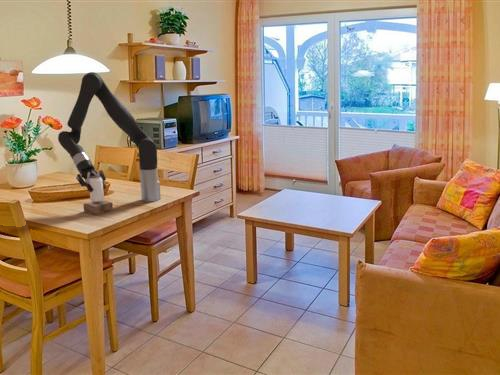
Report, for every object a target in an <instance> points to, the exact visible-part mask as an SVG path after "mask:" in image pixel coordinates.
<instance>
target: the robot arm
mask: <svg viewBox="0 0 500 375" xmlns="http://www.w3.org/2000/svg"><path fill="white" fill-rule="evenodd" d="M94 96H95V97H96V98H97V99H98V101H99V102H100V103H101V104H102V106H103V108H104V110H105V112H106V113H107V115H108V116H109V117H110V119H112V121H113V123H114V124H115V125H117V127H118V128H120V130H121V131H123V133H125V134H126V135H127V136H128V137H130V139H131V140H132V141H133V143H134V144H135V146H136V147H137V149H138V158H139V178H140V180H139V181H140V192H141V194H140V195H141V201H142V202H147V203H149V202H156V201H159V200H161V183H160V181H159V176H158V174H159V173H158V148H157V144H156V142H155V141H154V140H153V139H152V138H151V137H150V136H149V135H147V133H146V132H145V131H144V130H143V129H142V128H141V127H140V125H139V124H138V122H137V121H136V119H135V118H134V116H133V115H132V113H131V112H130V111H129V110H128V109H127V108H126V106H125V105H124V104H123V103H122V102H121V100H120V99H118V97H117V96H116V95H115V94H113V92H112V91H111V90H110V88H109V86H107V84H106V82H105V80H103V78H102V77H101V75H100V74H99V73H97V72H94V71H93V72H92V71H91V72H87V73H86V74H85V75H83V77H82V79H81V84H80V89H79V93H78V96H77V98H76V102H75V104H74V106H73V108H72V110H71V112H70V116H69V118H68V121H67V122H66V123H67V127H69V128H70V129H71V130H70V131H67V130H66V131H65V130H63V131H60V132H59V134H58V135H57V136H58V137H57V140H58V143H59V144H60V146H61V147H62V148H63V149H64V150H65V151H66V152H67V153H68V154H69V155H70V158H71V160H72V161H73V164H74V166H75V168H76V169H77V171H78V174H77V175H76V177H75V179H76V180H77V181H78V183H79V185H81V187H85V188H86V189H87V191H88V192H89V193H90V192H93V188H92V187H91V185H90V184H89V179H90V178H89V177H91V176H101V178H102V180H103V191H105V190H106V188H107V186H106V184H105V182H106V180H107V178H106V176H105V174H104V172H103V170H102V169H100V170H99V171H98V170H96V169H95V166H94V165H93V162H92V160H91V159H90V157H89V156H88V154H87V153H86V152H85V150H84V148H83V146H82V145H81V144H79V143H80V140H81V135H82V127H83V125H84V122H85V120H86V118H87V114H88V111H89V109H90V108H89V107H90V104H91V102H92V100H93V98H94Z"/></svg>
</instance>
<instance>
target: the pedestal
mask: <svg viewBox="0 0 500 375" xmlns="http://www.w3.org/2000/svg"><path fill="white" fill-rule="evenodd" d="M113 207H114V206H113V202H111V201H107V200H105V199H104V200H103V201H100V202H92V201H90V202H85V203H83V212H84V213H88V214H90V215H93V216H98V215H101V214H105V213H109V212H113V211H114V208H113Z"/></svg>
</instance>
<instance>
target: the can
mask: <svg viewBox="0 0 500 375" xmlns="http://www.w3.org/2000/svg"><path fill="white" fill-rule="evenodd" d="M89 178H90V179H89V184H90V185H91V187H92V188H93V192H89V198H90V202H100V201H103V200H104V201H105V196H104V195H105V194H104V193H105V192H104V190H103V180H102V178H101V176H91V177H89Z"/></svg>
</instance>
